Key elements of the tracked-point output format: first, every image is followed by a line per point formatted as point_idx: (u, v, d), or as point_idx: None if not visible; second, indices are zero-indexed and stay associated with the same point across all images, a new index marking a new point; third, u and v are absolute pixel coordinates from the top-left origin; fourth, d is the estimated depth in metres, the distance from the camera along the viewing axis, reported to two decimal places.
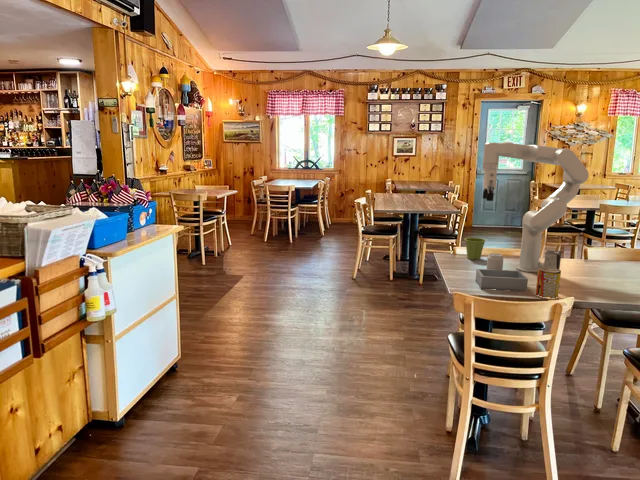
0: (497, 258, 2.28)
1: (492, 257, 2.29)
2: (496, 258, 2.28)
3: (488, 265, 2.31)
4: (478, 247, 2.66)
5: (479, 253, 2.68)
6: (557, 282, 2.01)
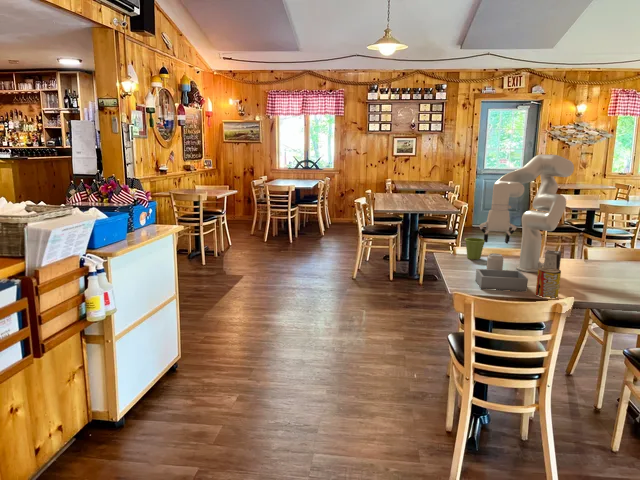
0: (497, 258, 2.28)
1: (492, 257, 2.29)
2: (496, 258, 2.28)
3: (488, 265, 2.31)
4: (478, 247, 2.66)
5: (479, 253, 2.68)
6: (557, 282, 2.01)
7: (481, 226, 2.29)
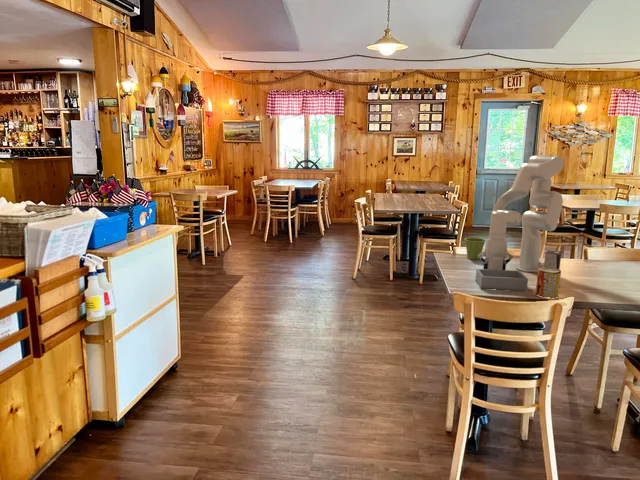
0: (497, 258, 2.28)
1: (492, 257, 2.29)
2: (496, 258, 2.28)
3: (488, 265, 2.31)
4: (478, 247, 2.66)
5: (479, 253, 2.68)
6: (557, 282, 2.01)
7: (480, 256, 2.32)
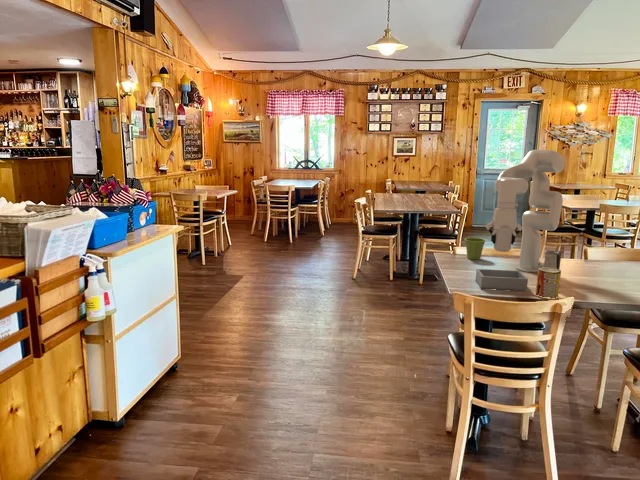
0: (506, 229, 2.13)
1: (500, 228, 2.14)
2: (505, 229, 2.13)
3: (496, 236, 2.16)
4: (478, 247, 2.66)
5: (479, 253, 2.68)
6: (557, 282, 2.01)
7: (487, 227, 2.17)
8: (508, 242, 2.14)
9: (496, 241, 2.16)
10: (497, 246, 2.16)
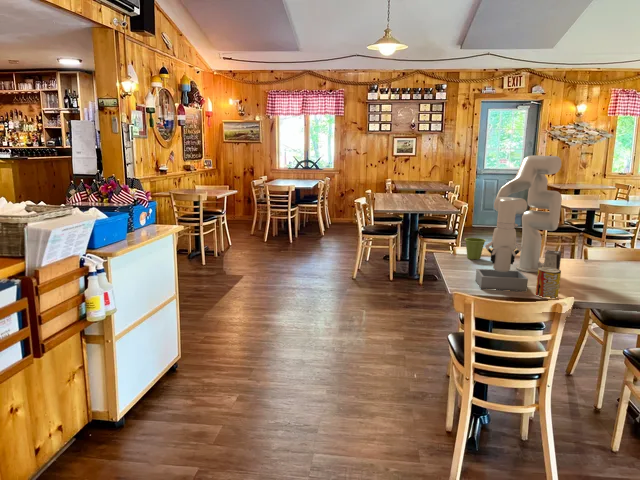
0: (505, 249, 2.13)
1: (500, 248, 2.14)
2: (504, 249, 2.13)
3: (495, 257, 2.16)
4: (478, 247, 2.66)
5: (479, 253, 2.68)
6: (557, 282, 2.01)
7: (487, 247, 2.17)
8: (508, 263, 2.14)
9: (496, 261, 2.16)
10: (496, 266, 2.16)
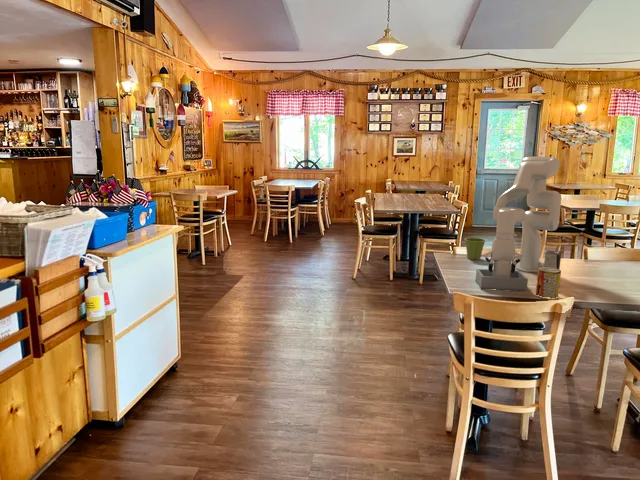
0: (504, 262, 2.14)
1: (499, 260, 2.16)
2: (503, 262, 2.15)
3: (495, 269, 2.18)
4: (478, 247, 2.66)
5: (479, 253, 2.68)
6: (557, 282, 2.01)
7: (485, 255, 2.18)
8: (506, 275, 2.16)
9: (495, 274, 2.18)
10: None
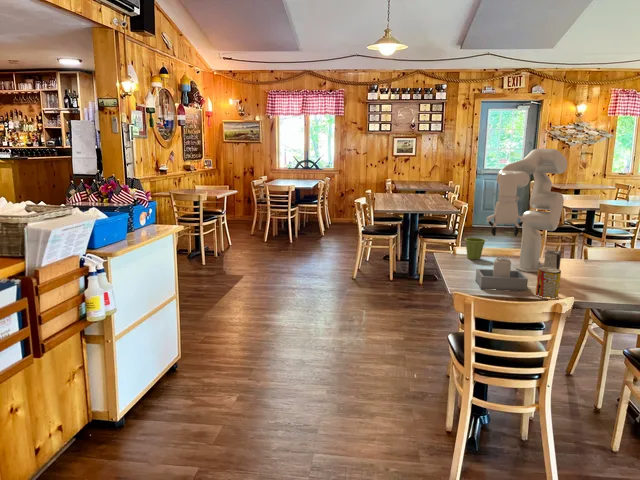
0: (504, 262, 2.14)
1: (499, 261, 2.15)
2: (503, 262, 2.14)
3: (495, 269, 2.18)
4: (478, 247, 2.66)
5: (479, 253, 2.68)
6: (557, 282, 2.01)
7: (488, 219, 2.20)
8: (506, 275, 2.15)
9: (495, 274, 2.18)
10: None
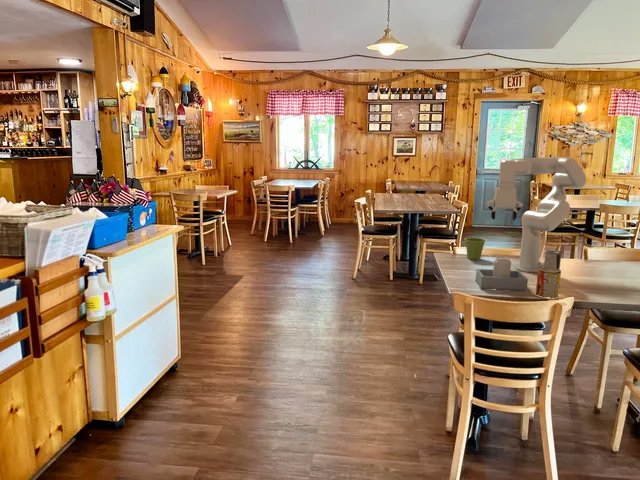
0: (504, 262, 2.14)
1: (499, 260, 2.16)
2: (503, 262, 2.15)
3: (495, 269, 2.18)
4: (478, 247, 2.66)
5: (479, 253, 2.68)
6: (557, 282, 2.01)
7: (488, 204, 2.34)
8: (506, 275, 2.15)
9: (495, 273, 2.18)
10: None
